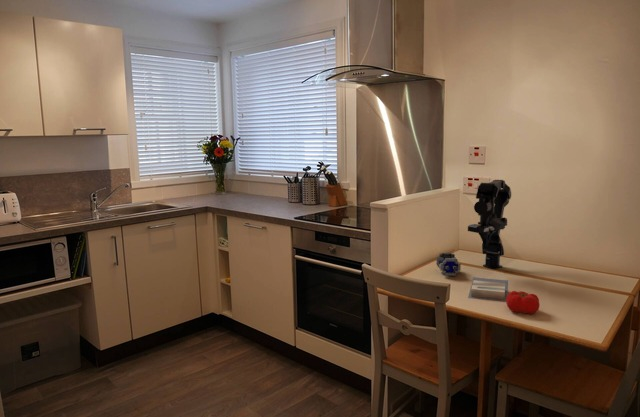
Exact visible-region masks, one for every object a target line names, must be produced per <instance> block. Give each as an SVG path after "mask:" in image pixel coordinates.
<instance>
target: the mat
mask: <svg viewBox="0 0 640 417" xmlns="http://www.w3.org/2000/svg"><path fill="white" fill-rule="evenodd" d="M474 280H479V281H489V282H500V283H505V298H504V300H502V299H492V298H483V297H473V296H471V288H472V285H473V281H474ZM471 282H472V283H471V285H470V289H469V293H468V297H467V298H468V299H474V300H475V299H476V300H484V301H493V302H502V303H506V298H507V296H508V294H509V292H508V291H509V280H506V279H496V278H495V279H494V278H485V277H473V278H472V281H471Z"/></svg>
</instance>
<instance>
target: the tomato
mask: <svg viewBox="0 0 640 417" xmlns="http://www.w3.org/2000/svg"><path fill="white" fill-rule="evenodd" d="M505 303H506V305H507V307H508V310H509V311H512V312H514V313H524V314H527V315H530V314H531V315H533V314H535V313H537V312H538V311H539V309H540V299H539V297H538V295H537V294H535V293H529V292H525V291H523V290H522V291H521V290H520V291H516V290H512V291H510V292H508V295H507V298H506V302H505Z"/></svg>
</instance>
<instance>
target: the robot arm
mask: <svg viewBox="0 0 640 417" xmlns="http://www.w3.org/2000/svg"><path fill="white" fill-rule="evenodd" d="M508 185H509V184H506V181H505V180H504V179H493V180H492V181H490V182H481V183H479V185H478V186H477V191H476V195H475V199H476V200H477V199H478V201H476V202H475V203H474V205H473V209H474V210H473V211H474V212H475V213H476V214H477V215H478V216H479V221H477V224H476V223H473V224H469V225H468V226H467V232H469V233H470V232H471V233H475V234H478V236H480V239H481V241H482V244H481V249H482V251H481V252H482V254H483V255H484V254H485V260H484V261H485V263H484V264H483V265H482V266H483V267H485V268H489V269H493V270H495V269H499V268H502V267H503V265H501V264H500V262H501V257H502V256H504V255H505V249H504V245H503V241H502V239H501V236H500V233H501V230H504V229H505V228H506V226H508V218H506V217H503V216H504V210H505V208H506V206H508V204H509V203H510V200H511V198H512V190H511V187H510V186H508Z"/></svg>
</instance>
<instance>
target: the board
mask: <svg viewBox="0 0 640 417" xmlns="http://www.w3.org/2000/svg"><path fill="white" fill-rule="evenodd" d="M472 281H473V280H472ZM471 285H472V284H471ZM470 289H471V296H473V297H483V298H492V299H502V300H504V298H505V283H500V282H489V281H479V280H474V281H473V285H472V288H471V287H470Z"/></svg>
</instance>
